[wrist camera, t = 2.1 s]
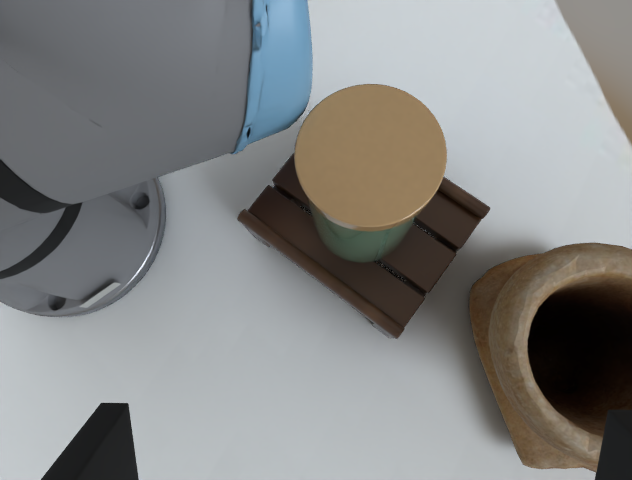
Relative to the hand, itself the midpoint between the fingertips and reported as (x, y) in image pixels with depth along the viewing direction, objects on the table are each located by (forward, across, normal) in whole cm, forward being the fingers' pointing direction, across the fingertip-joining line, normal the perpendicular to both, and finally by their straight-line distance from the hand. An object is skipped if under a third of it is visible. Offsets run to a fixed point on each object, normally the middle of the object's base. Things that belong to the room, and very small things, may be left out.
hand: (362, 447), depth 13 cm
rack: (+24, +1, 0) cm, 24 cm away
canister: (+20, +1, +2) cm, 20 cm away
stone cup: (+19, +14, -9) cm, 25 cm away
